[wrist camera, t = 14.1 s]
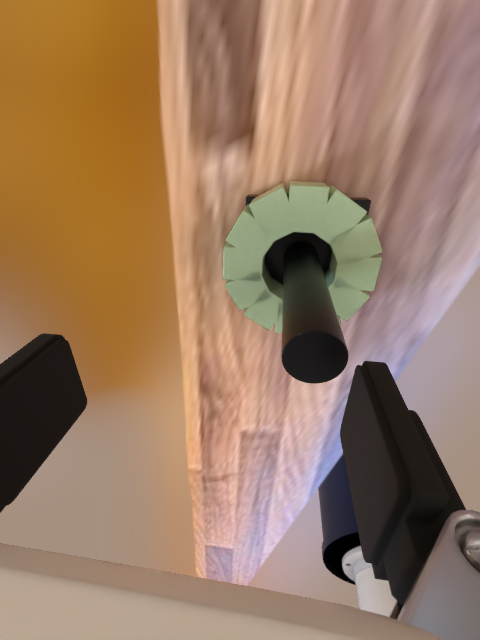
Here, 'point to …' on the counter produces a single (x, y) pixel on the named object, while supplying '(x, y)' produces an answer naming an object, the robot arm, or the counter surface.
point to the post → (307, 305)
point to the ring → (306, 217)
